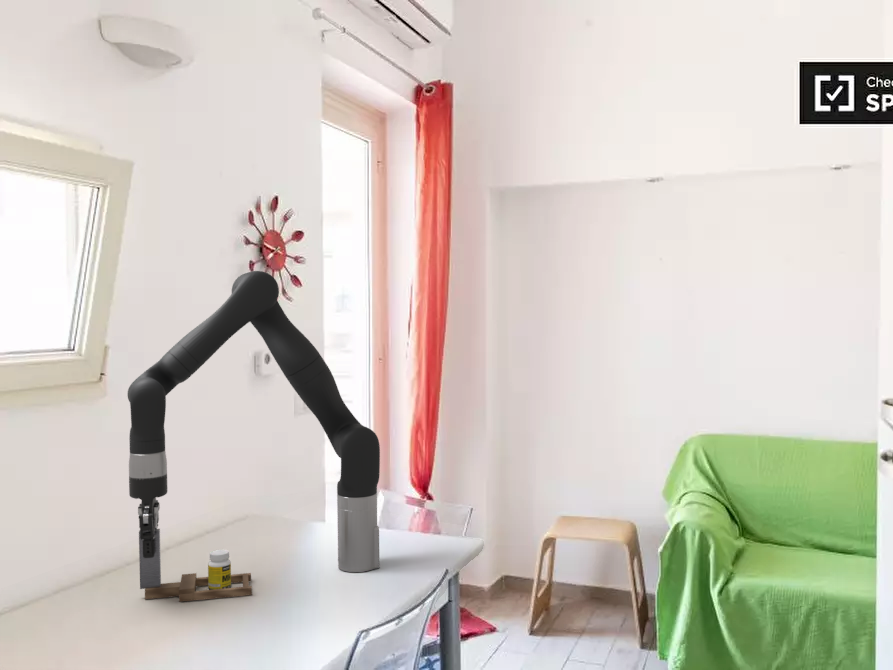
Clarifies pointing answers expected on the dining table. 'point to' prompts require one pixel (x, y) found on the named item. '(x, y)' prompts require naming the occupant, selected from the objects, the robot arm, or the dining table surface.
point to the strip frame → (182, 580)
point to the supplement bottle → (219, 570)
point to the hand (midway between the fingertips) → (149, 554)
